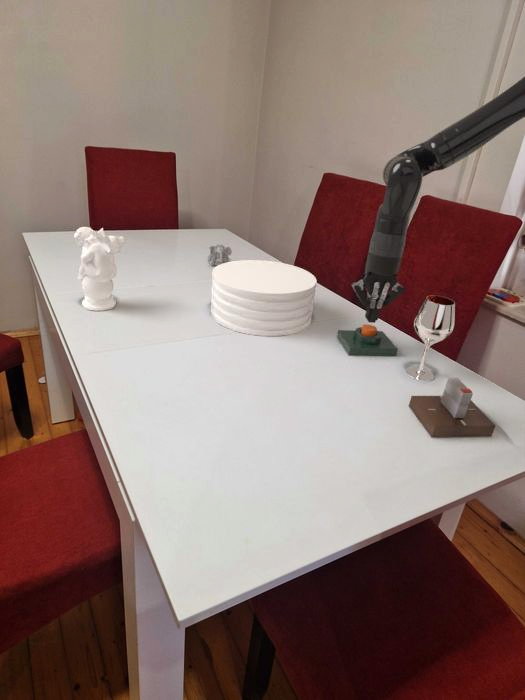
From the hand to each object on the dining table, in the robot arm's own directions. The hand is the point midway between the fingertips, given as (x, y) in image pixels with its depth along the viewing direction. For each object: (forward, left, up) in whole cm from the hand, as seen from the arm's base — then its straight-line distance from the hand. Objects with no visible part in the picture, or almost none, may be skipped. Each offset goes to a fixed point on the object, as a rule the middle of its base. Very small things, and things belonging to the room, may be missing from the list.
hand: (370, 321), depth 110 cm
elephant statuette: (+33, -63, -7) cm, 71 cm away
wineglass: (-8, +14, -7) cm, 17 cm away
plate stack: (+24, -19, -7) cm, 31 cm away
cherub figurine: (+66, -23, -7) cm, 70 cm away
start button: (0, 0, -3) cm, 3 cm away
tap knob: (-6, +31, -4) cm, 32 cm away
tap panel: (-6, +31, -7) cm, 32 cm away
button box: (0, 0, -7) cm, 7 cm away
